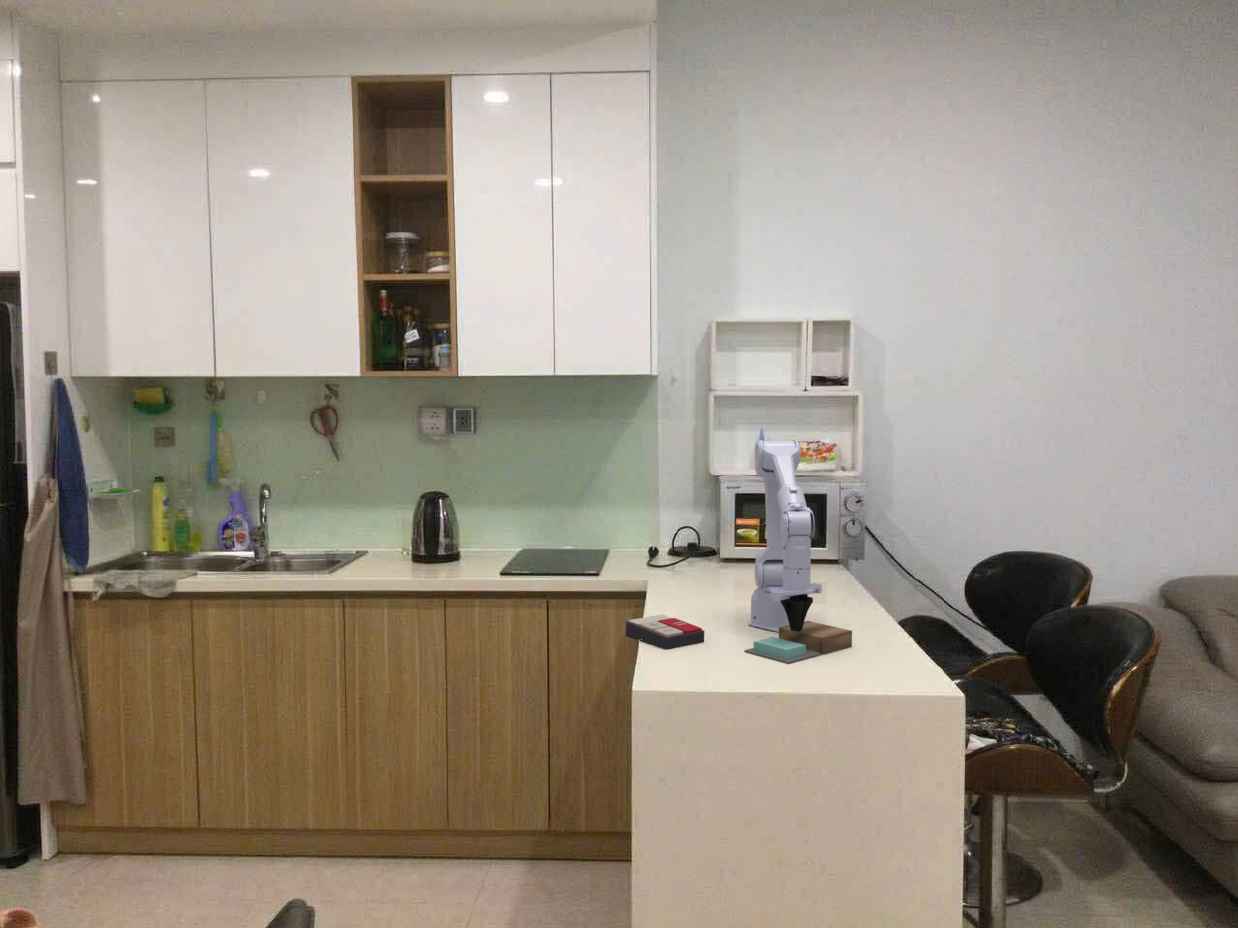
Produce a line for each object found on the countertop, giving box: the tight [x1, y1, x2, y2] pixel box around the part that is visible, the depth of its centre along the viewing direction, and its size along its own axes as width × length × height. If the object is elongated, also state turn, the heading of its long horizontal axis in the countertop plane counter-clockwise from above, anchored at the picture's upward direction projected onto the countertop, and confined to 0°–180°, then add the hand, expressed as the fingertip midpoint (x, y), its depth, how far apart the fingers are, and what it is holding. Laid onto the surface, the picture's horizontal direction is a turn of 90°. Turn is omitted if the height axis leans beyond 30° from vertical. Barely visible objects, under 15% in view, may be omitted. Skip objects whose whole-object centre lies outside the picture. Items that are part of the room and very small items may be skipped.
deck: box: [778, 620, 853, 656], centre depth 199 cm, size 12×10×4 cm
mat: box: [743, 647, 822, 665], centre depth 193 cm, size 12×10×1 cm
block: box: [753, 636, 806, 660], centre depth 192 cm, size 9×6×2 cm, turn 40°
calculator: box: [625, 614, 705, 651], centre depth 205 cm, size 11×4×15 cm
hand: (796, 630), depth 195 cm, fingers closed
